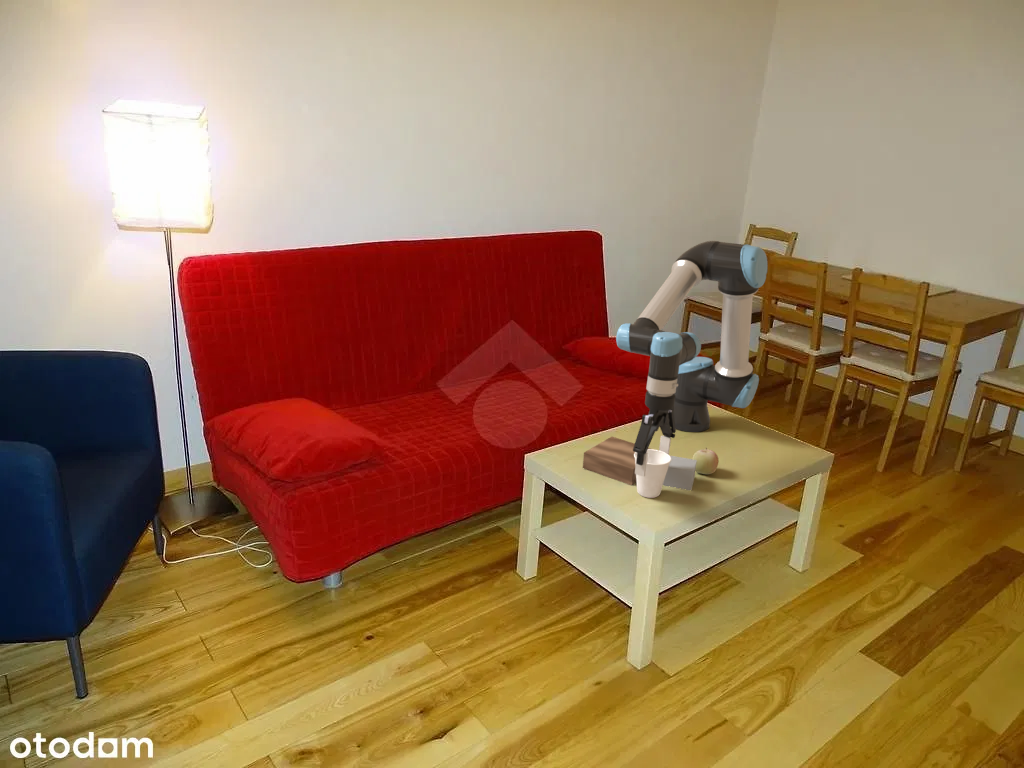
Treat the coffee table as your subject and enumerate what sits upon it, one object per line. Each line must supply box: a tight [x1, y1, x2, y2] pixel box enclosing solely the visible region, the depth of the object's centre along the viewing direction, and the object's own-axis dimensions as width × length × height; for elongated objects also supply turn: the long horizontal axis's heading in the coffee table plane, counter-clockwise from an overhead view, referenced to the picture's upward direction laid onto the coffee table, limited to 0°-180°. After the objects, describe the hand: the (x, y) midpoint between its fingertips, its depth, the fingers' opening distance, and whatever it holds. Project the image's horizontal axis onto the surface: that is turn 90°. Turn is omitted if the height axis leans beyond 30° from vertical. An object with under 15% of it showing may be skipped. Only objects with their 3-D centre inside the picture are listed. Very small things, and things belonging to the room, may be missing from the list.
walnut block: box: [582, 436, 652, 486], centre depth 208 cm, size 16×16×5 cm
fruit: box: [691, 447, 719, 475], centre depth 207 cm, size 8×7×8 cm
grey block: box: [662, 454, 697, 491], centre depth 201 cm, size 8×8×6 cm
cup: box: [634, 448, 671, 499], centre depth 193 cm, size 10×10×11 cm
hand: (651, 466), depth 192 cm, fingers open, 13 cm apart
